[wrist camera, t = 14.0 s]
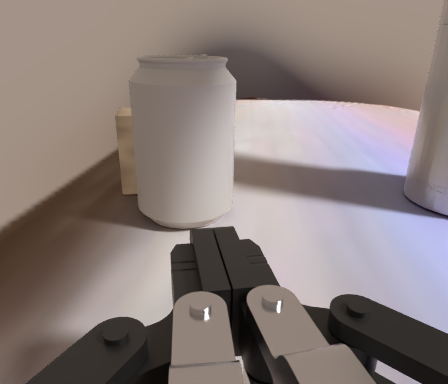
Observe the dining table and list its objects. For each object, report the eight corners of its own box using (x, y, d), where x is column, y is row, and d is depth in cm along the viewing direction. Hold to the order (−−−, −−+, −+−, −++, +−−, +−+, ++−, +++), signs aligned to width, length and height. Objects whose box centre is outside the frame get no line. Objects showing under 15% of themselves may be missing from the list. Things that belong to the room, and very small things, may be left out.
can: (133, 199, 32) (121, 51, 28) (215, 190, 34) (216, 52, 30) (146, 240, 26) (134, 56, 21) (246, 225, 28) (254, 56, 23)
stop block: (224, 174, 38) (226, 106, 36) (232, 189, 35) (234, 114, 32) (125, 179, 37) (119, 107, 34) (122, 194, 33) (115, 116, 30)
